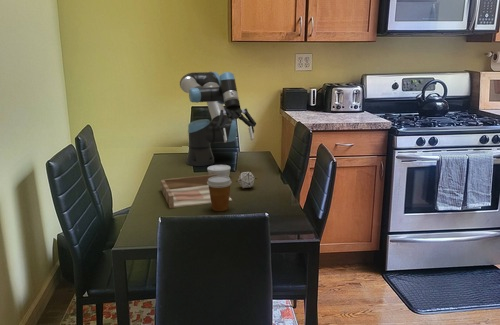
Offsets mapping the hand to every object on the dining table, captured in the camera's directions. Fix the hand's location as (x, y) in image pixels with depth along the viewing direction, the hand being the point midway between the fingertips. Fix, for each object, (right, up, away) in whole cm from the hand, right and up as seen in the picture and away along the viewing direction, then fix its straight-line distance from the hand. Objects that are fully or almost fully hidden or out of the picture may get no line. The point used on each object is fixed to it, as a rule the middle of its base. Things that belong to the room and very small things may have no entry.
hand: (239, 140), depth 221 cm
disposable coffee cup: (-7, -29, -43) cm, 52 cm away
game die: (+4, -23, -18) cm, 29 cm away
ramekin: (-10, -18, -1) cm, 21 cm away
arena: (-18, -25, -27) cm, 41 cm away
